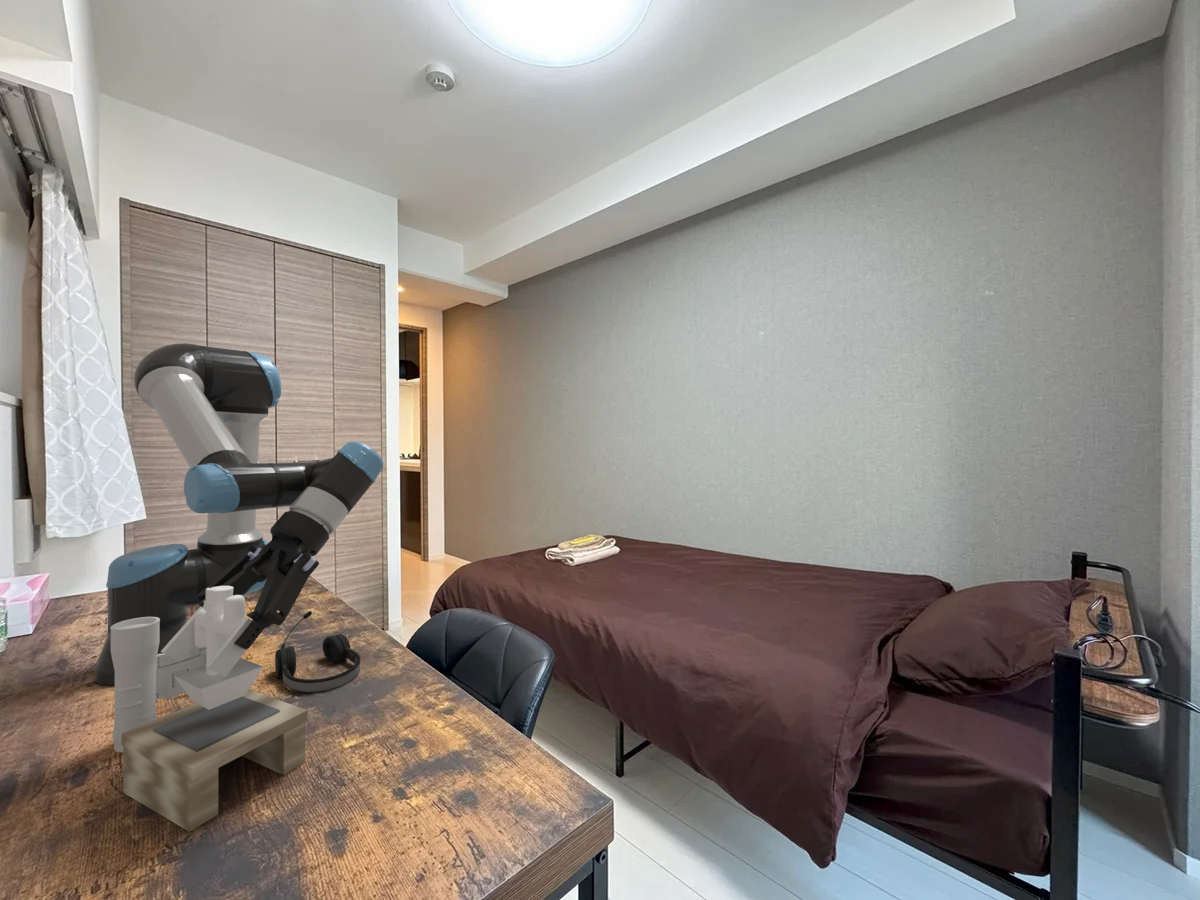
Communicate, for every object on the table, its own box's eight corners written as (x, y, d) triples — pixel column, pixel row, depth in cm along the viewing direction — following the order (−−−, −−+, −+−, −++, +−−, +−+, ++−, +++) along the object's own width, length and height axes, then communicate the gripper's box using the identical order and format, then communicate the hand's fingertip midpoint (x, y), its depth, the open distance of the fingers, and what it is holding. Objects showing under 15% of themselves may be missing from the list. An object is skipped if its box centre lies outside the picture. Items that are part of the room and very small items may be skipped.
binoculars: (234, 695, 89) (234, 594, 88) (251, 703, 86) (251, 599, 86) (103, 747, 73) (103, 625, 73) (119, 758, 71) (119, 632, 71)
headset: (335, 604, 109) (373, 638, 96) (333, 645, 110) (370, 684, 97) (266, 619, 99) (297, 659, 86) (264, 664, 100) (295, 710, 87)
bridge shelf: (121, 791, 64) (121, 731, 64) (238, 734, 77) (238, 684, 77) (191, 833, 57) (192, 766, 57) (307, 763, 70) (307, 708, 70)
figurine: (231, 679, 72) (231, 576, 72) (267, 695, 68) (267, 585, 68) (169, 701, 66) (169, 588, 66) (205, 720, 62) (204, 599, 61)
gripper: (373, 543, 76) (267, 693, 62) (280, 532, 85) (169, 660, 71) (343, 513, 71) (220, 668, 57) (248, 504, 81) (121, 636, 66)
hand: (192, 663), depth 64 cm, fingers closed on figurine, 9 cm apart
